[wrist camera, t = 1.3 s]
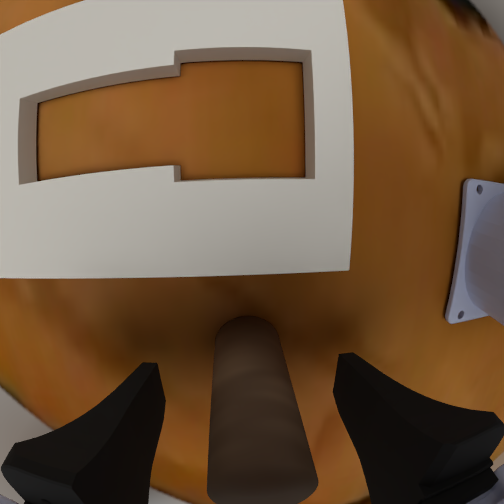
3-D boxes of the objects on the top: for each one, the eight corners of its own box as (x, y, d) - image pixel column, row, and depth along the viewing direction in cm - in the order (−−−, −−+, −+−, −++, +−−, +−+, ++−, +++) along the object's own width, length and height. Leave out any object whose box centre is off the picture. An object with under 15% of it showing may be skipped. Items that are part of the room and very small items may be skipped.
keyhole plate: (330, 1, 10) (340, -13, 9) (337, 259, 13) (349, 270, 12) (11, 44, 9) (-5, 37, 8) (13, 268, 12) (-4, 277, 11)
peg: (279, 314, 14) (325, 456, 6) (278, 367, 15) (311, 506, 7) (212, 317, 14) (200, 465, 6) (217, 370, 14) (212, 513, 7)
